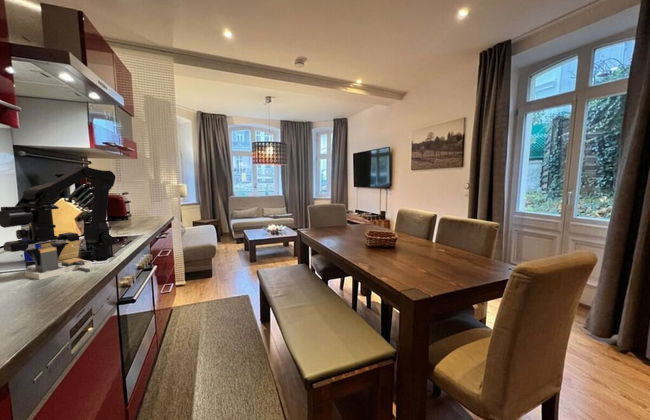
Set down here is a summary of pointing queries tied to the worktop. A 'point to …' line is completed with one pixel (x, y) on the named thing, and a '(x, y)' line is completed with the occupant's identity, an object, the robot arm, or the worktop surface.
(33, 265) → the tray
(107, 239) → the robot arm
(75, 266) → the two-cubby shelf
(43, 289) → the worktop surface
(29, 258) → the beverage can
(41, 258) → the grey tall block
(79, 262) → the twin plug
